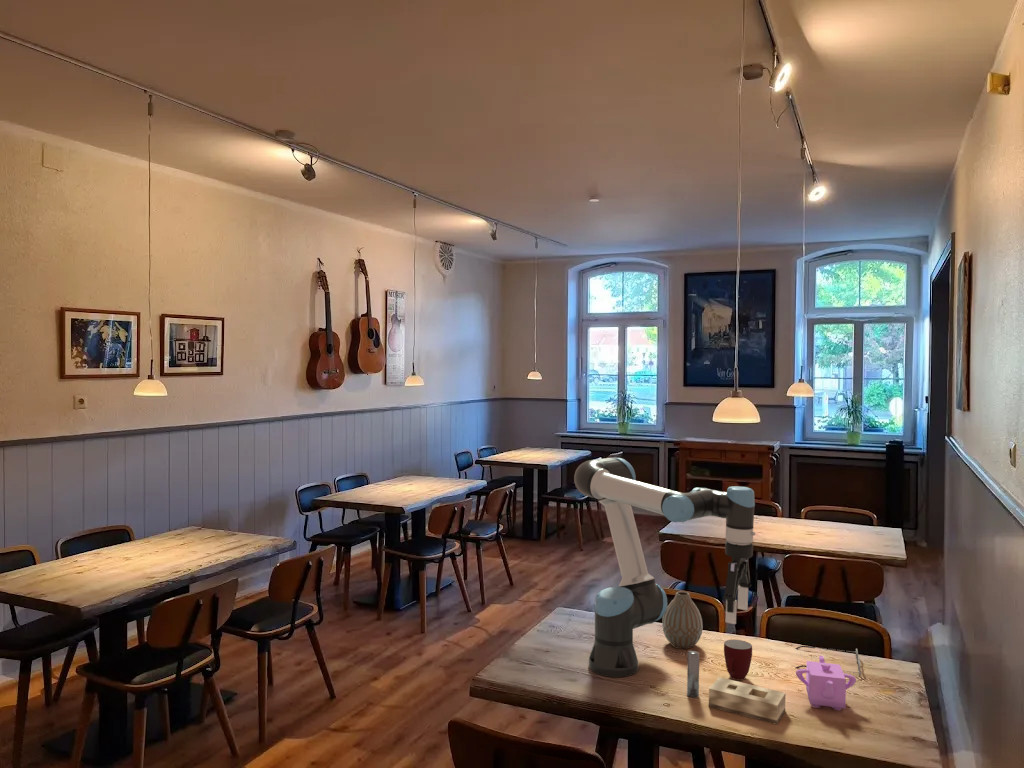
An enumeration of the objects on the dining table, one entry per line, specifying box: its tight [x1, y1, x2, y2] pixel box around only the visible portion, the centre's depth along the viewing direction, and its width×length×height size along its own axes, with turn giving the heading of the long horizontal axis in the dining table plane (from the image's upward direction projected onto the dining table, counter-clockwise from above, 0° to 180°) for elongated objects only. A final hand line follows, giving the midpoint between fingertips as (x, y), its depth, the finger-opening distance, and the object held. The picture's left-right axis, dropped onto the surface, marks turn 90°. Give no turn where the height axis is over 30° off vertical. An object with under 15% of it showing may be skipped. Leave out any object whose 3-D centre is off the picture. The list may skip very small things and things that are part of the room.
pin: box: [686, 650, 700, 699], centre depth 205 cm, size 3×3×12 cm
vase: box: [662, 590, 704, 650], centre depth 243 cm, size 13×13×18 cm
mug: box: [723, 639, 753, 681], centre depth 216 cm, size 11×8×10 cm
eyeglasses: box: [794, 645, 862, 677], centre depth 230 cm, size 18×19×4 cm
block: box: [708, 676, 786, 725], centre depth 197 cm, size 18×9×5 cm, turn 57°
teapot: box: [795, 655, 857, 711], centre depth 201 cm, size 15×13×11 cm
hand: (736, 616), depth 207 cm, fingers open, 13 cm apart
